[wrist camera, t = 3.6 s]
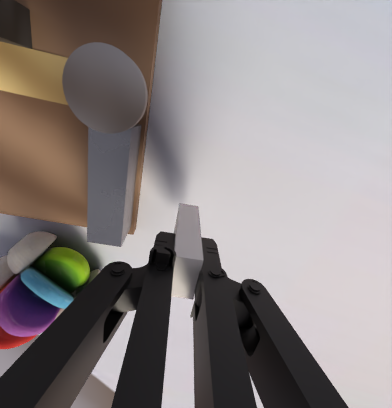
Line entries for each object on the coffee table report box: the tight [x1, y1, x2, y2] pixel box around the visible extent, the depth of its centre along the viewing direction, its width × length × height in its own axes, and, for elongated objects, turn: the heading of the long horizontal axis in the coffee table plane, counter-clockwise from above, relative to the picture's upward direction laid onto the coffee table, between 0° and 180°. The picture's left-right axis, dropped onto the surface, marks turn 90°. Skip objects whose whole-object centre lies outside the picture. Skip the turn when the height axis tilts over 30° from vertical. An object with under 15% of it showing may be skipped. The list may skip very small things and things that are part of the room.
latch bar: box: [87, 124, 142, 247], centre depth 15 cm, size 8×2×3 cm, turn 168°
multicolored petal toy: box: [0, 231, 101, 349], centre depth 18 cm, size 8×10×7 cm
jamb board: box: [0, 0, 162, 235], centre depth 13 cm, size 20×13×5 cm, turn 168°
